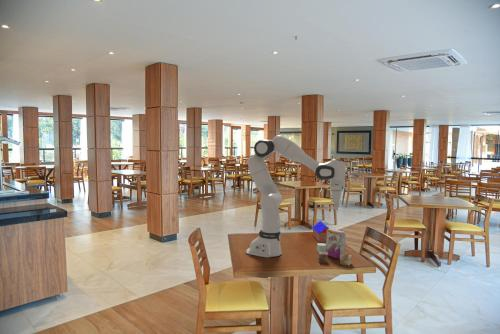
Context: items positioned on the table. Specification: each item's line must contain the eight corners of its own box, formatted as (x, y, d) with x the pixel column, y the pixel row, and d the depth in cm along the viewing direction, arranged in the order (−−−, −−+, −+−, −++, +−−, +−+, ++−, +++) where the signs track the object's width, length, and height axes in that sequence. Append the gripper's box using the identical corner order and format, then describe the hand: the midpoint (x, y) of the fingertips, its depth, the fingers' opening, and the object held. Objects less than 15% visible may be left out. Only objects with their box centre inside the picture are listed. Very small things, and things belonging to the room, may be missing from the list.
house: (318, 243, 241) (319, 226, 240) (312, 235, 261) (312, 220, 260) (335, 243, 242) (335, 226, 241) (327, 235, 261) (328, 220, 261)
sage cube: (319, 253, 218) (319, 245, 217) (316, 250, 223) (316, 243, 222) (326, 253, 218) (326, 245, 218) (324, 250, 223) (324, 243, 223)
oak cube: (340, 264, 197) (340, 255, 197) (342, 262, 202) (343, 253, 201) (348, 266, 195) (348, 257, 194) (351, 263, 199) (351, 255, 199)
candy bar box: (325, 255, 214) (326, 229, 213) (330, 253, 217) (331, 228, 216) (339, 260, 205) (340, 233, 204) (344, 258, 208) (345, 231, 207)
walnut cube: (318, 262, 200) (319, 254, 200) (318, 259, 205) (318, 251, 205) (327, 263, 199) (327, 254, 199) (327, 260, 204) (327, 252, 204)
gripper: (333, 183, 219) (332, 205, 220) (330, 187, 200) (329, 210, 200) (343, 184, 217) (343, 205, 218) (341, 187, 198) (340, 211, 198)
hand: (336, 208), depth 209 cm, fingers open, 7 cm apart
